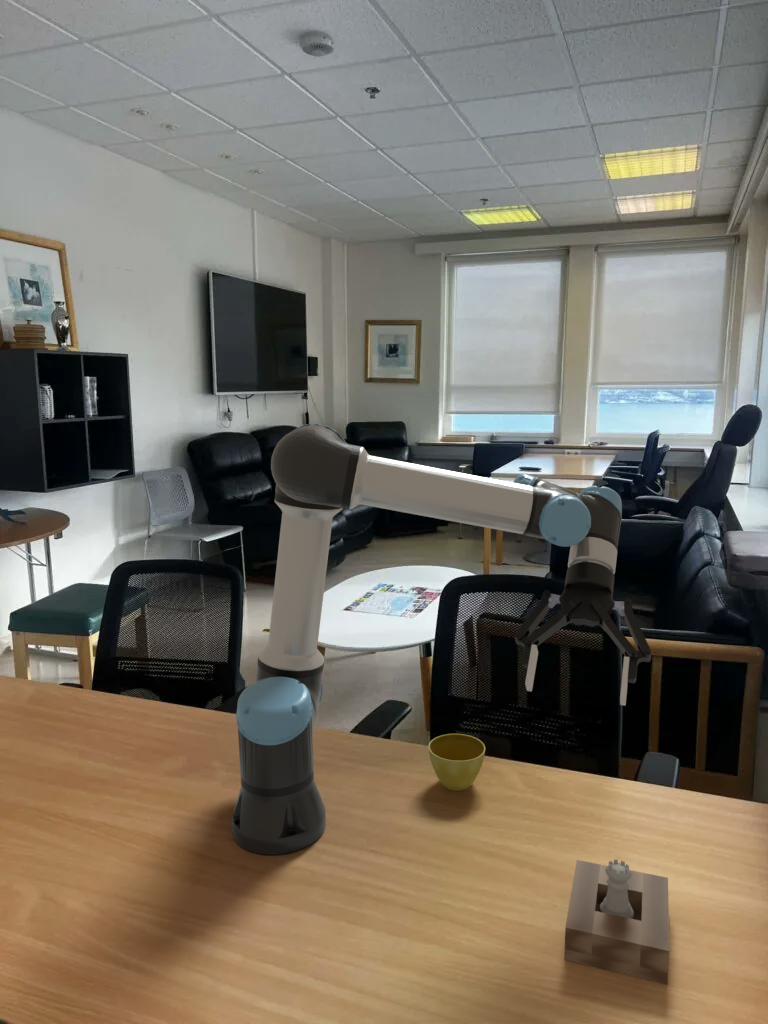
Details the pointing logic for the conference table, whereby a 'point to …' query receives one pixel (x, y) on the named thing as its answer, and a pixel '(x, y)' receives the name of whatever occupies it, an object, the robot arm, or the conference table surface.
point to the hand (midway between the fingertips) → (574, 694)
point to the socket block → (619, 925)
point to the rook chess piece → (617, 890)
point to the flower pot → (456, 759)
